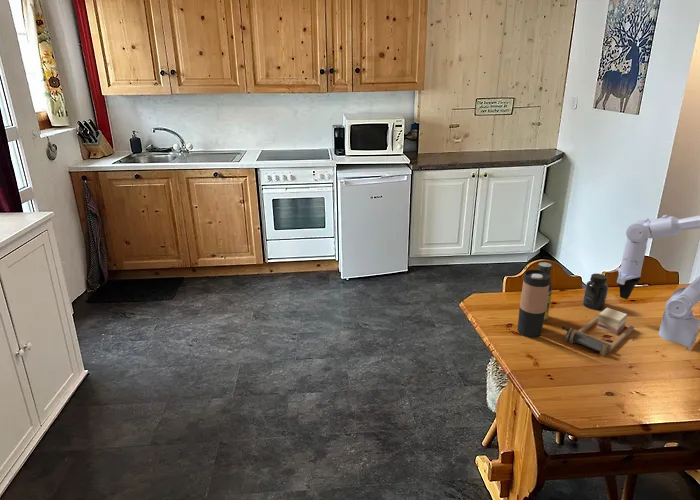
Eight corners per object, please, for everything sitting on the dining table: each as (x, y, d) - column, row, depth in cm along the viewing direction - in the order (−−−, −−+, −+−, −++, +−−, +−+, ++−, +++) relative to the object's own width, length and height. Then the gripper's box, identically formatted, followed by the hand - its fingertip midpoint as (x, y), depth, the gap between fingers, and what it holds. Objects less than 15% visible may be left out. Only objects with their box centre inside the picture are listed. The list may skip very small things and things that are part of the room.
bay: (632, 332, 154) (635, 322, 153) (608, 355, 142) (610, 345, 141) (597, 319, 162) (599, 310, 160) (571, 340, 150) (573, 330, 148)
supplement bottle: (607, 312, 166) (614, 280, 162) (587, 312, 166) (593, 280, 162) (598, 302, 173) (604, 272, 168) (578, 302, 173) (584, 271, 168)
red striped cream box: (624, 327, 155) (627, 314, 153) (616, 334, 151) (619, 320, 149) (604, 320, 159) (607, 307, 157) (596, 327, 155) (599, 313, 153)
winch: (607, 355, 142) (610, 340, 141) (601, 360, 140) (604, 345, 138) (563, 337, 151) (566, 323, 149) (557, 342, 149) (560, 328, 147)
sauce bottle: (548, 325, 158) (558, 269, 151) (528, 323, 159) (536, 268, 152) (545, 315, 164) (554, 261, 157) (526, 314, 165) (533, 260, 158)
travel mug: (514, 334, 153) (522, 276, 146) (518, 323, 160) (526, 267, 152) (540, 340, 150) (549, 281, 143) (543, 329, 156) (552, 272, 149)
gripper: (628, 249, 159) (619, 286, 164) (610, 261, 150) (602, 300, 155) (651, 255, 154) (642, 293, 159) (634, 267, 145) (625, 308, 150)
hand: (624, 297), depth 157 cm, fingers closed
